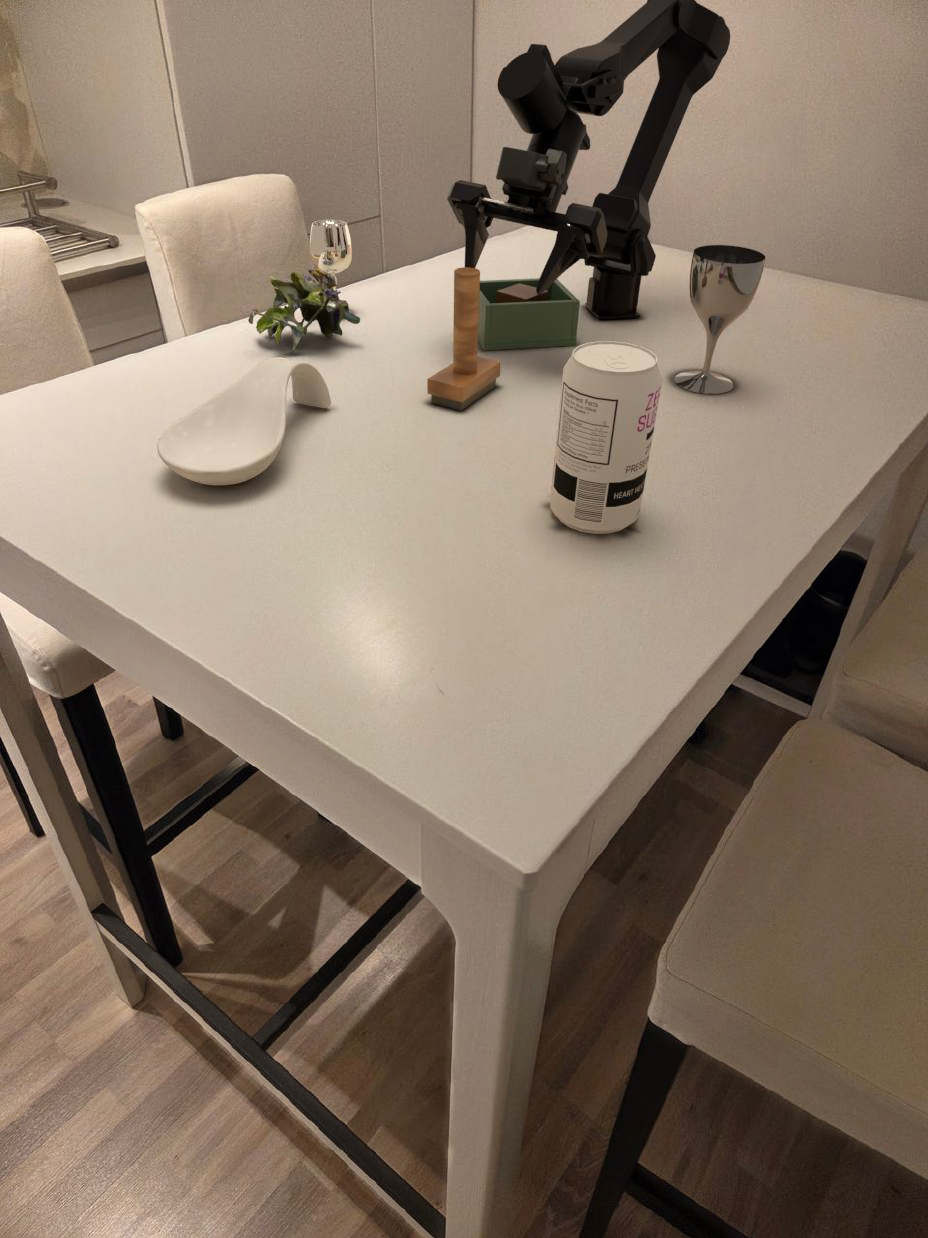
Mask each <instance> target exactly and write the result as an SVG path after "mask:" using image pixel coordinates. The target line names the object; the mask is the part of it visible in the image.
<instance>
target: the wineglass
mask: <svg viewBox="0 0 928 1238" xmlns="http://www.w3.org/2000/svg"><path fill="white" fill-rule="evenodd" d="M309 255H310V258H311V262H312V264H313V265H314V267H315V268H316V269H319V270H321V271H322V272H323V273H324V274H326V273H328V274H329V275H330V276H331V277H332V278H333V279H334V280H335V281H336V284H337V285H338V279H337V276H336V274H339V273H342V272H343V271H345V270H346V269H348V268H349V267H350V265H351V263H352V261H353V243H352V238H351V233H350V230H349V225H348V223H347V222H346V221H344V220H339V219H320V220H316V221H313V222H312V223H311V228H310V234H309ZM333 289H334V290H337V286H335V287H333ZM350 313H352V311H350Z"/></svg>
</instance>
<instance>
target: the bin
mask: <svg viewBox="0 0 928 1238" xmlns="http://www.w3.org/2000/svg"><path fill="white" fill-rule="evenodd" d="M539 279H540V277H539V278H514V279H513V278H511V279H492V280H491V279H490V280H489V279H487V280H480V293H479V324H478V344H479V345H480V346H481V348H482V350H483V351H500V350H516V349H517V350H518V349H536V348H553V347H554V348H555V347H571V346H572V347H573V346H576V344H577V334H578V325H579V316H580V315H579V313H580V305H581V301H580V300H579V299H578V298H577V297H576V296H575V295H574V294H573V293H572V292H571V291H570V290H569V289H568V288H567V287H566V286H565V285H564V284H563V283H562V282H561V281H560V280H559V279H558V278H557V279H556V280H555V281H554V282H553V283H552V284H551V285H550V286H549V287H548V288H547V289H546V291H549V294H548V301H535V302H513V303H496V292H497V291H498V290H501V289H504V288H507V287H510V286H513V285H516V284H519V283H520V284H524V285H528V286H532V287H535V288H537V285H538V282H539Z"/></svg>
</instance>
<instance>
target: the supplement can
mask: <svg viewBox="0 0 928 1238" xmlns="http://www.w3.org/2000/svg"><path fill="white" fill-rule="evenodd" d="M571 353H572V354H571V356H570V357H569V359H568V360H567V362H566V363H565V365H564V366H563V369H562V378H561V379H562V380H561V390H560V398H559V399H560V400H559V410H558V417H557V419H558V420H557V430H556V438H555V439H556V440H555V448H554V449H555V450H554V459H553V461H554V462H553V470H552V481H551V491H550V503H549V505H550V506H549V508H550V510H551V512H552V513H553V515H554V516H555V517H556V518H557V519H558V520H559V521H560V523H562V524H563V525H565V526H566V527H568V528H571V529H572V530H576V531H577V532H580V533H586V534H593V535H606V534H607V535H609V534H612V533H617V532H621V531H622V530H624V529H626V528H627V527H629V526H630V525H632V524H634V523H635V522H636V521H637V520H638V517H639V516H640V513H641V506H642V501H643V497H644V491H645V485H646V484H645V483H646V477H647V472H648V466H649V461H650V456H651V455H650V453H651V449H652V443H653V437H654V432H655V426H656V420H657V415H658V407H659V402H660V397H661V390H662V385H663V377H662V373H661V370H660V368H659V365H658V356H657V354H656V353H654V352H652V350H650V349H648V348H645V347H643V346H641V345H637V344H633V343H629V342H623V341H615V340H599V341H598V340H597V341H592V342H591V341H590V342H586V343H583V344H580V345H578V346H575V348H574V349H573V350H572V352H571Z"/></svg>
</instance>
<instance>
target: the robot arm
mask: <svg viewBox="0 0 928 1238" xmlns="http://www.w3.org/2000/svg"><path fill="white" fill-rule="evenodd" d="M730 44H731V30H730V28H729V27H728V25H727V24H726V20H725V18H724V17H723V16H721V15H719V14H718V13H716V12H715V11H713V10H711V9H709V8H708V7H705V6H704V5H702V4H700V3H699V2H697V0H647V1H646V3H644V4H643V5H642V6H641V7H640V8H638V9H637V10H636V11H635V12H634V13H632V15H630V16H629V17H628V18H627V19H626V20H624V21H623V22H622V23H621V24H620V25H619V26H617V27H616V28H615V29H614V30H613V31H612V32H610V33H609V34H608V35H607V36H606V37H605V38H604V39H602V40H601V41H599V42H598V43H595V44H591V45H587V46H582V47H578V48H576V49H573V50H571V51H569V52H567V53H566V54H563V55H562V56H560V57H559V58H558V60H557V61H556V62H555V63H554V61H553V58H552V54H551V52H550V50H549V47H548V46H547V44H539V43H531V44H530V45H529V47H528V49H527V50H526V52H524V53H521V54H519V55H518V56H516V57H514V58H513V59H512V60H511V61H509V63H507V65H506V66H504V67H503V68H502V69H501V71H500V72H499V75H498V77H497V91H498V93H499V95H500V97H501V98H502V100H503V102H504V103H505V105H506V106H507V108H508V110H509V111H510V113H511V115H512V116H513V118H514V119H515V121H516V122H517V125H518V126H519V128H520V130H522V131H523V132H524V133H527V134H529V135H531V137H530V141H529V144H528V146H527V148H526V150H525V149H520V148H514V147H509V146H503V147H502V149H501V154H500V158H499V162H498V166H497V169H496V175H495V179H496V180H498V181H502V182H503V185H502V188H501V190H502V193H503V195H505V196H507V197H508V199H507V201H503V200H498V199H494V198H492V197H491V195H490V193H489V190H488V187H487V185H486V184H482V183H477V182H472V181H467V180H462V179H459V180H457V181H455V182H454V183H453V184H452V186H451V188H450V190H449V192H448V195H447V198H446V200H447V202H448V205H449V206H450V208H451V210H452V212H453V214H454V217H455V218H456V221H457V222H458V224H460V225H461V226H462V227H463V229H464V234H465V237H464V238H465V240H464V241H465V242H464V243H465V244H464V267H470V268H477V265H478V262H479V260H480V258H481V255H482V253H483V250H484V248H485V246H486V243H487V242H488V239H489V236H490V233H489V231H488V229H487V228H489V227H491V226H492V223H493V220H494V219H497V220H502V221H506V222H510V223H516V224H518V225H519V224H520V225H523V226H529V227H534V228H538V229H543V230H547V231H548V230H549V231H552V232H557V233H556V237H555V241H554V245H553V247H552V250H551V252H550V254H549V256H548V259H547V260H546V263H545V265H544V267H543V269H542V272H541V274H540V276H539V278H540V279H539V282H538V285H537V288H536V292H537V294H538V295H541V294H542V293H543V292H544V291H545V290H546V289H547V288H548V287H549V286H550V285H551V284H552V283H553V282H554V281H555V280H556V279H558V278H559V277H560V276H561V275H563V273H565V272H566V271H567V270H569V269H570V268H572V266H574V265H575V264H577V262H579V261H580V260H583V261H584V266H587V267H593V270H592V276H590V277H589V278H588V286H587V294H586V302H585V304H584V306H585V308H586V309H588V310H589V311H590V313H592V314H593V316H595V317H596V318H597V319H598V320H616V319H617V320H618V319H636V318H641V315H642V313H641V312H640V311H639V310H638V305H639V296H640V289H641V282H642V277H647V276H649V273H650V272H652V271H653V267H654V266H655V265H654V264H655V262H656V261H655V260H656V258H657V257H656V256H657V255H656V253H655V250H654V248H653V246H652V244H651V242H650V241H651V240H650V239H649V234H650V230H651V228H652V227H651V226H652V222H651V216H650V214H651V213H650V207H649V202H650V199H651V197H652V195H653V192H654V190H655V187H656V185H657V182H658V180H659V178H660V175H661V173H662V170H663V168H664V165H665V163H666V161H667V158H668V156H669V153H670V151H671V149H672V146H673V144H674V141H675V139H676V137H677V134H678V132H679V129H680V127H681V124H682V122H683V120H684V117H685V115H686V113H687V110H688V108H689V105H690V103H691V100H692V98H693V96H694V95H695V94H696V93H697V92H699V91H700V90H701V89H702V88H703V87H704V86H706V85H707V84H708V83H709V82H710V81H711V80H713V78H714V76H715V75H716V72H717V71H718V69H719V67H720V65H721V63H722V60H723V59H724V57H725V56H726V54H727V52H728V50H729V47H730ZM656 51H657V52H656ZM655 52H656V61H657V68H658V71H657V72H658V77H659V78H658V81H657V84H656V86H655V89H654V92H653V94H652V97H651V99H650V101H649V104H648V105H647V109H646V110H645V114H644V116H643V118H642V121H641V124H640V126H639V128H638V131H637V133H636V136H635V139H634V141H633V144H632V146H631V148H630V151H629V154H628V156H627V158H626V161H625V163H624V166H623V168H622V170H621V173H620V175H619V178H618V180H617V183H616V185H615V187H614V188H613V189H612V190H610V191H609V192H608V193H604V192H598V194H597V195H596V196H595V198H594V200H593V203H592V206H589V205H586V204H581V203H576V202H571V203H570V204H568V206H567V209H566V212H565V213H560V212H557V209H558V207H559V203H560V201H561V199H562V196H566V195H567V193H568V190H569V185H568V180H569V177H570V175H571V172H572V169H573V167H574V164H575V162H576V158H577V157H578V154H579V151H589V150H590V149H591V138H590V136H589V134H588V130H587V125H586V124H585V123H584V121H583V120H582V118H581V116H580V115H587V116H595V117H603V116H605V115H607V114H608V113H609V112H610V110H611V109H613V107H614V106H615V104H616V103H617V101H618V100H619V99H620V98H621V96H622V95H623V94H624V89H625V88H624V87H625V81H626V79H627V78H628V76H629V75H630V74H631V73H633V72H634V71H635V70H637V68H638V67H639V66H641V65H642V64H643V63H644V62H646V60H647V59H649V57H651V56H652V55H653V54H654V53H655Z"/></svg>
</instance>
